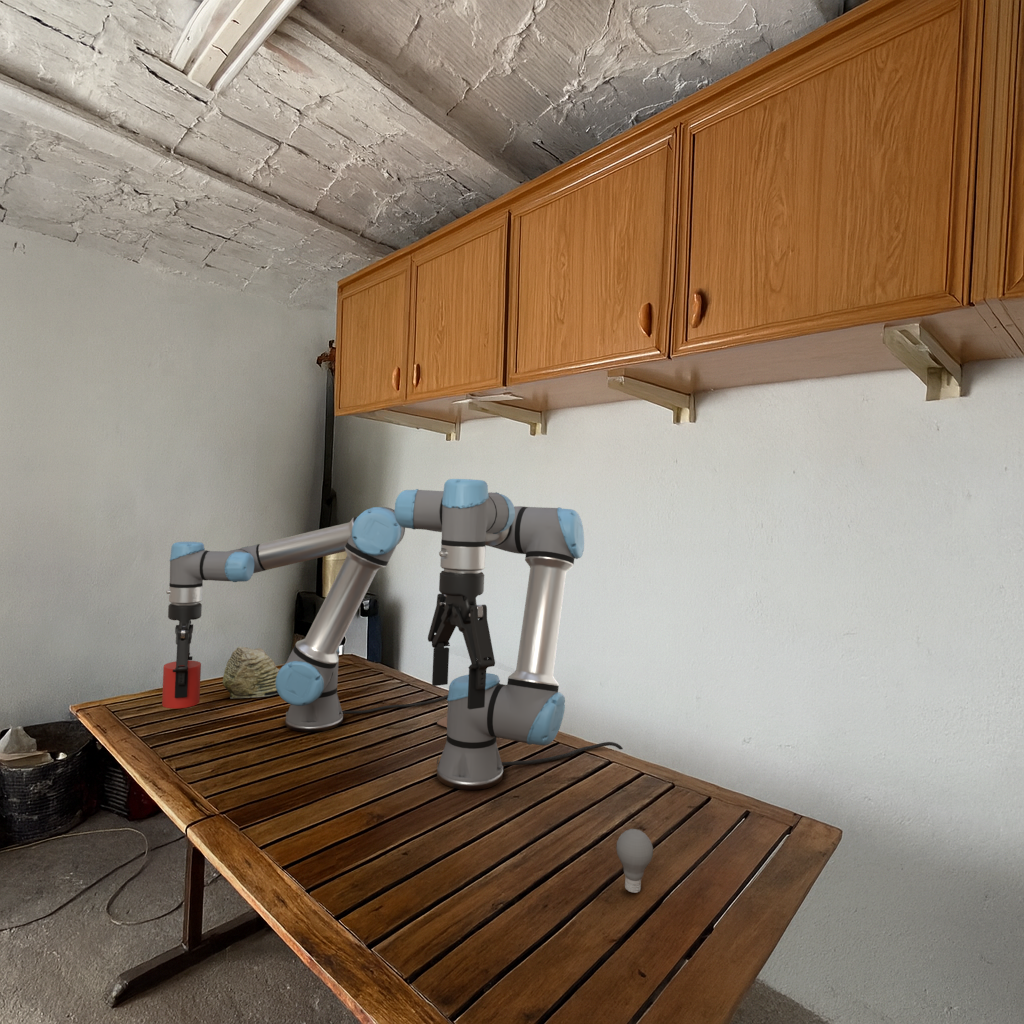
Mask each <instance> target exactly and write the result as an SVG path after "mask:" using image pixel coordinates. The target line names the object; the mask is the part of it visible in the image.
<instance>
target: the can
mask: <svg viewBox="0 0 1024 1024" xmlns="http://www.w3.org/2000/svg"><path fill="white" fill-rule="evenodd" d="M182 666H184V665H182ZM175 668H176V661H170V662H167V663H165V664H164V665H163V669H162V670H163V671H162V695H161V696H162V697H161V698H162V699H161V706H162V707H163V708H166V709H175V710H176V709H178V710H179V709H187V708H191V707H193V706H197V705H198V704H199V703H200V701H201V699H200V698H201V675H202V674H201V673H202V663H201V662H200V661H196V660H188V686H187V697H182V698H175V676H176V672H173V669H175Z"/></svg>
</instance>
